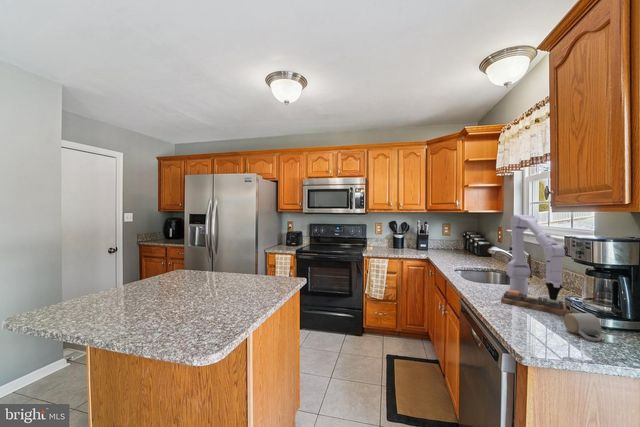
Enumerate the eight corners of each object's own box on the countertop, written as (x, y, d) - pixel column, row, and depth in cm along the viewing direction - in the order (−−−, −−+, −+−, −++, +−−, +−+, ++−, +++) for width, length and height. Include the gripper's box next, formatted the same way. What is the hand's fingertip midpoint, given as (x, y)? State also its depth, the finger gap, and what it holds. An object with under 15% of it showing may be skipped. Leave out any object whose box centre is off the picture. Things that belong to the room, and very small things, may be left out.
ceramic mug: (561, 328, 106) (562, 309, 106) (584, 329, 105) (585, 310, 105) (584, 341, 96) (585, 320, 96) (609, 343, 95) (611, 322, 95)
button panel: (501, 302, 135) (501, 294, 135) (504, 296, 144) (504, 289, 144) (565, 315, 119) (566, 306, 119) (565, 308, 128) (565, 300, 128)
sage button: (546, 304, 126) (546, 299, 126) (546, 301, 130) (546, 297, 130) (559, 306, 123) (559, 301, 123) (558, 304, 127) (559, 299, 127)
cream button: (526, 301, 131) (526, 296, 131) (527, 298, 135) (527, 294, 135) (538, 303, 128) (538, 298, 128) (538, 301, 132) (538, 296, 132)
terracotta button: (507, 295, 136) (508, 291, 136) (509, 293, 139) (509, 289, 139) (518, 297, 133) (518, 293, 133) (519, 295, 137) (519, 291, 137)
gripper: (540, 266, 134) (539, 293, 135) (545, 272, 122) (544, 301, 122) (559, 268, 131) (558, 296, 131) (566, 274, 118) (565, 305, 119)
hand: (552, 299), depth 126 cm, fingers closed, pressing on sage button
